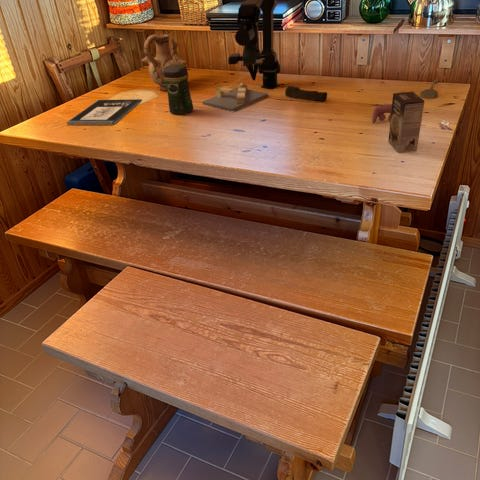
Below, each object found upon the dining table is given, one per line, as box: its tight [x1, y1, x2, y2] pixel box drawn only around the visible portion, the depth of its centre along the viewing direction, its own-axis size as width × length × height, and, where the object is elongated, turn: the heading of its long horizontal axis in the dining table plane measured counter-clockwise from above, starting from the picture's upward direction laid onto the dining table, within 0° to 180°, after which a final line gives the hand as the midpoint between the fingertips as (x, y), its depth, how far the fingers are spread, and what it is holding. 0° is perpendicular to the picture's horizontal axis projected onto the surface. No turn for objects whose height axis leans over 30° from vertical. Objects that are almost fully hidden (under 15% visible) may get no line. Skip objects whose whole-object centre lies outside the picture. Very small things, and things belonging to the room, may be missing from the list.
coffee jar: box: [163, 65, 194, 115], centre depth 187 cm, size 10×8×19 cm
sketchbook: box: [66, 98, 142, 126], centre depth 200 cm, size 22×30×2 cm
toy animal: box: [371, 103, 392, 124], centre depth 164 cm, size 10×5×7 cm, turn 71°
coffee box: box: [387, 91, 425, 154], centre depth 143 cm, size 9×6×16 cm
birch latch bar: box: [237, 84, 248, 103], centre depth 198 cm, size 18×4×2 cm, turn 176°
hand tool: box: [284, 85, 328, 103], centre depth 192 cm, size 19×4×5 cm, turn 52°
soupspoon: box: [419, 79, 439, 100], centre depth 187 cm, size 22×3×7 cm
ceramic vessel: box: [141, 33, 187, 91], centre depth 214 cm, size 18×19×25 cm
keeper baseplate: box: [202, 82, 269, 112], centre depth 197 cm, size 22×18×5 cm
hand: (254, 80), depth 187 cm, fingers closed
